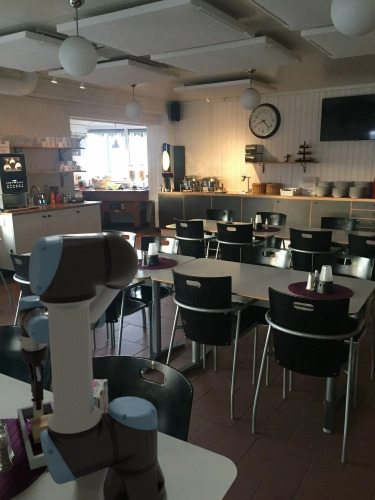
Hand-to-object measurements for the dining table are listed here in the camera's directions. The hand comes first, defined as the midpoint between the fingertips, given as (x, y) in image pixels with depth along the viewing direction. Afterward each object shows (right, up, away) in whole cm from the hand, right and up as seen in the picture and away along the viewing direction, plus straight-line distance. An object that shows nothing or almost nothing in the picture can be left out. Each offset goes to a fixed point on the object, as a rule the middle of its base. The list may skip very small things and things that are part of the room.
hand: (38, 417), depth 134 cm
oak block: (+4, -3, -6) cm, 8 cm away
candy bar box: (+20, -4, -8) cm, 22 cm away
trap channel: (+4, -3, -6) cm, 8 cm away
